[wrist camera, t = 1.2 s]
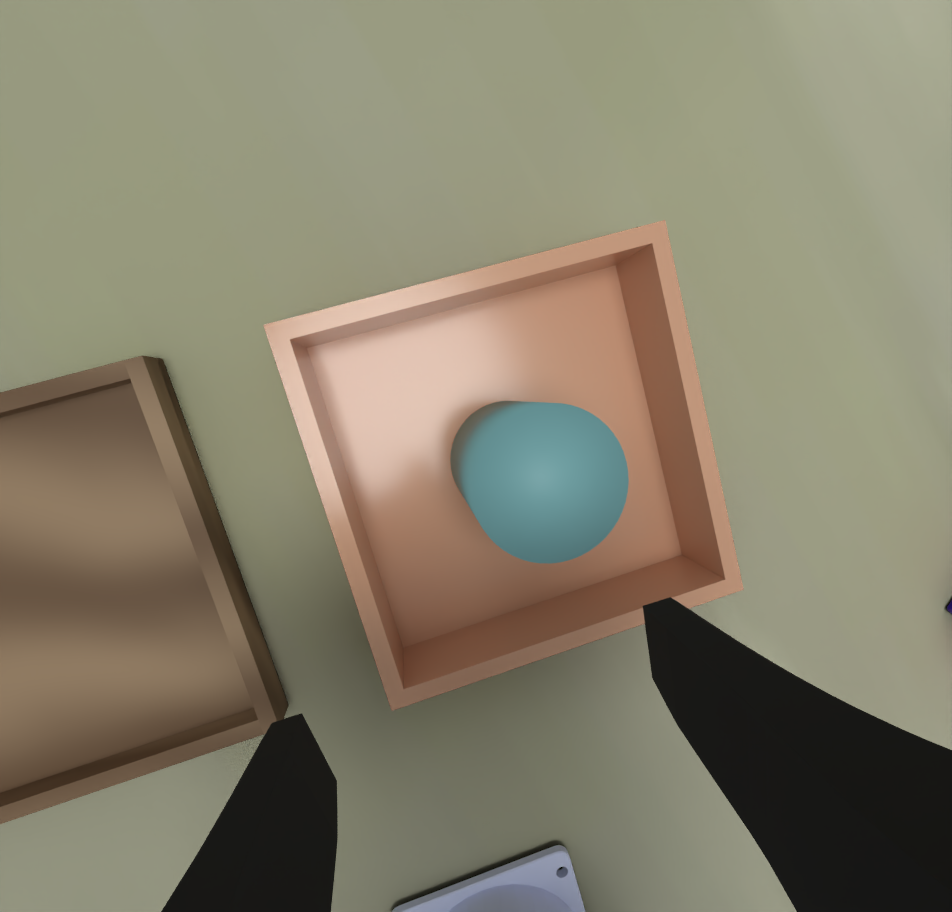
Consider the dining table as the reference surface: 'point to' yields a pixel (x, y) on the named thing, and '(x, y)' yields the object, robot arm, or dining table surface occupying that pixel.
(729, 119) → the dining table surface
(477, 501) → the teal cylinder
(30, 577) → the tray
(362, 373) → the pink storage bin
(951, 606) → the supplement box
